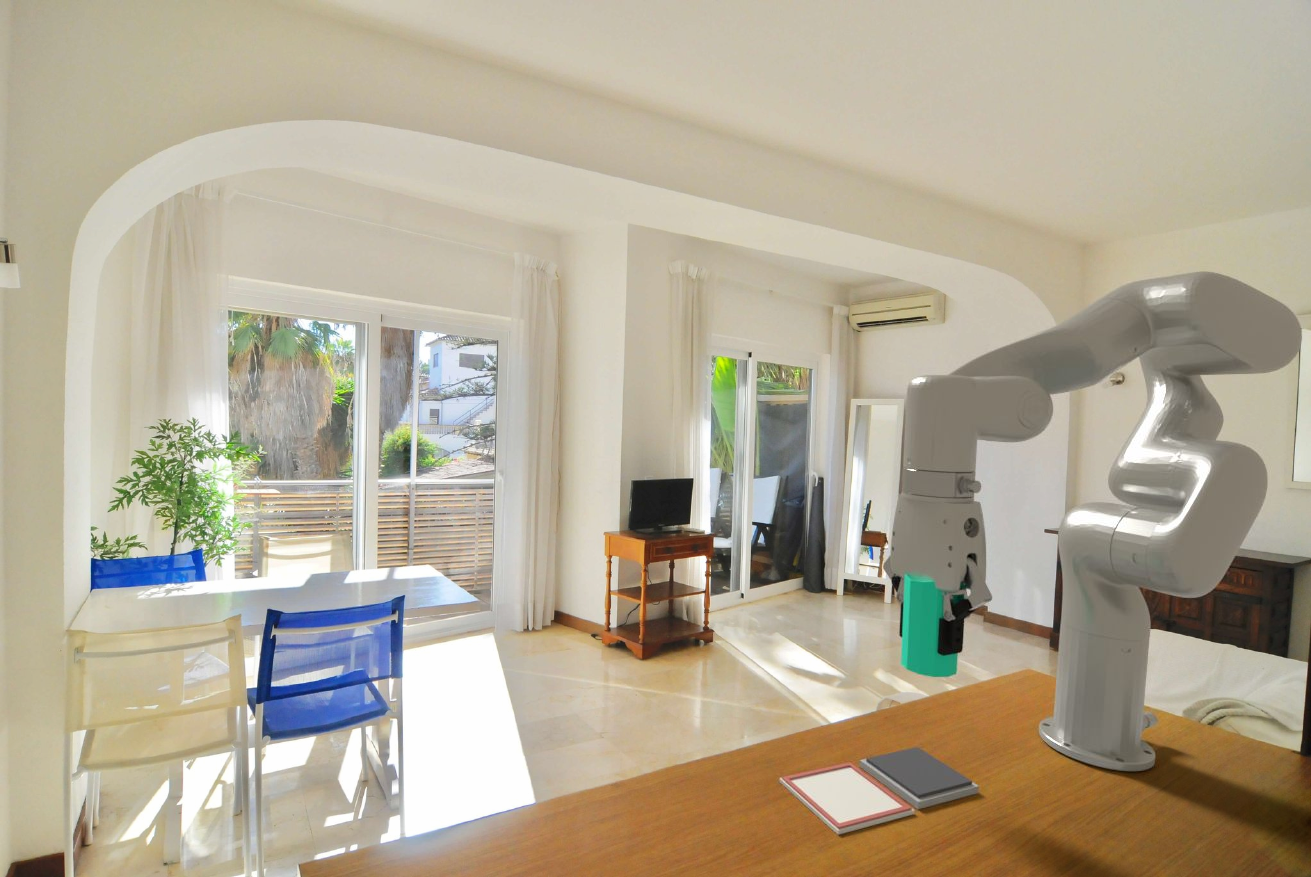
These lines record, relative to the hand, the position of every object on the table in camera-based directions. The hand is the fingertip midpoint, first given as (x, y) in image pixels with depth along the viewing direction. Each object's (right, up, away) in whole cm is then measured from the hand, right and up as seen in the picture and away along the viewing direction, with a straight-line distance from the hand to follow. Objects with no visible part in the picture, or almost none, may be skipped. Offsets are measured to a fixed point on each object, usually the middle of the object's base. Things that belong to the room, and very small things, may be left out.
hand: (930, 642), depth 77 cm
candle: (0, -3, 0) cm, 3 cm away
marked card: (-11, -16, -4) cm, 19 cm away
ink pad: (-1, -16, +1) cm, 16 cm away
